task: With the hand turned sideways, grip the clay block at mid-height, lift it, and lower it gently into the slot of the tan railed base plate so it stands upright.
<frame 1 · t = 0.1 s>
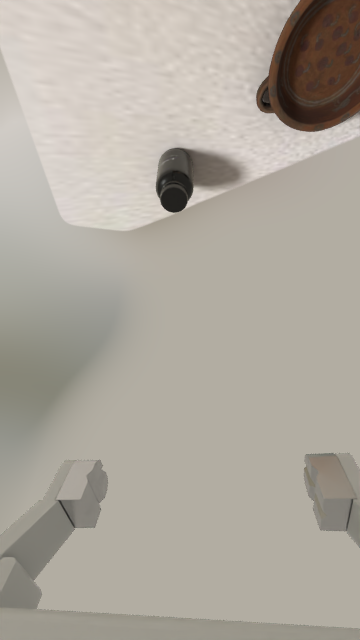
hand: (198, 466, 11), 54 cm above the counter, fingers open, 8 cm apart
supplement bottle: (175, 165, 54), on the counter
dish: (325, 50, 40), on the counter
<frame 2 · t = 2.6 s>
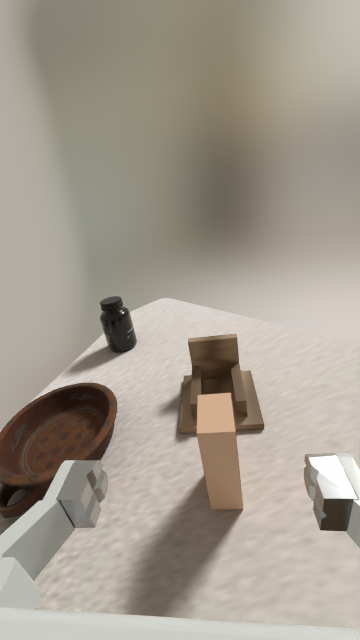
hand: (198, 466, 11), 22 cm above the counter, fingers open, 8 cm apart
tan railed base plate: (219, 401, 44), on the counter
supplement bottle: (123, 346, 66), on the counter
dish: (69, 446, 42), on the counter
clay block: (225, 486, 32), on the counter
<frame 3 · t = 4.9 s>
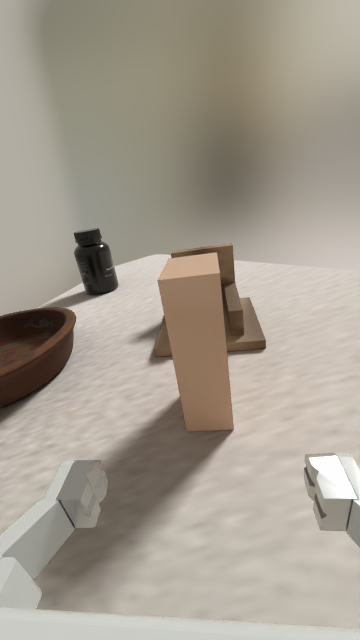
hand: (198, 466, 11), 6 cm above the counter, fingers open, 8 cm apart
tan railed base plate: (208, 326, 35), on the counter
supplement bottle: (103, 290, 57), on the counter
dish: (13, 375, 32), on the counter
clay block: (209, 406, 22), on the counter
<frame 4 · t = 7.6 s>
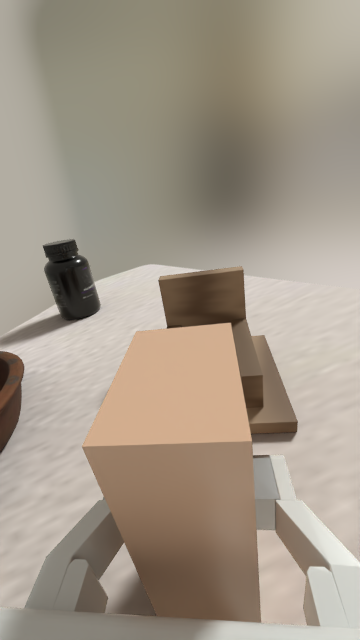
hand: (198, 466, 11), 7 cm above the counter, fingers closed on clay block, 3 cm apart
tan railed base plate: (210, 382, 25), on the counter
supplement bottle: (82, 313, 47), on the counter
clay block: (215, 574, 13), on the counter, touching gripper
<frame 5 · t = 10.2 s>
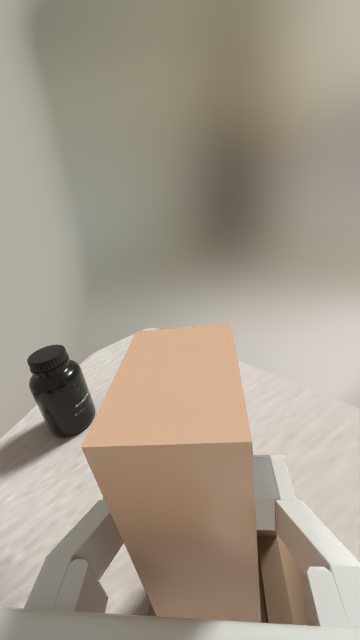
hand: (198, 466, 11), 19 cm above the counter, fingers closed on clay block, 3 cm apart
supplement bottle: (74, 421, 41), on the counter
clay block: (215, 574, 13), point 12 cm above the counter, touching gripper
when the fingers open (9 cm above the counter, at t = 13.0 s): clay block drops 1 cm, resting on tan railed base plate.
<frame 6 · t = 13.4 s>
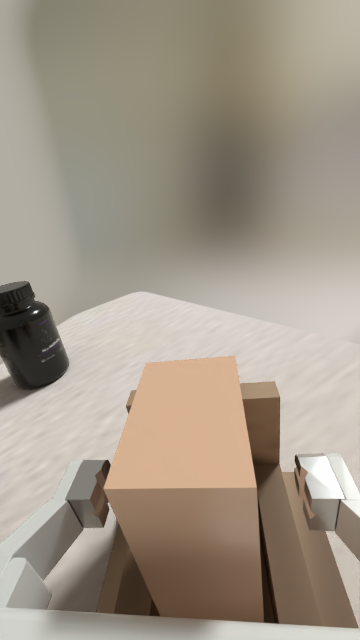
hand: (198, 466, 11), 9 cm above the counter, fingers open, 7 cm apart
tan railed base plate: (219, 597, 14), on the counter
supplement bottle: (44, 374, 36), on the counter
clay block: (220, 587, 13), point 1 cm above the counter, touching tan railed base plate
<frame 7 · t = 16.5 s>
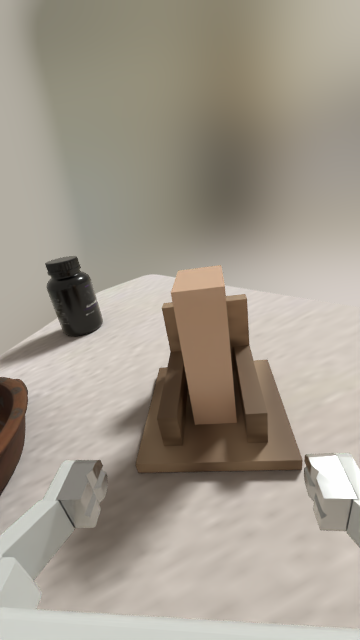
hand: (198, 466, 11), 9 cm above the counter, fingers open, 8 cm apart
tan railed base plate: (214, 410, 25), on the counter
supplement bottle: (84, 328, 47), on the counter
clay block: (214, 402, 25), point 1 cm above the counter, touching tan railed base plate
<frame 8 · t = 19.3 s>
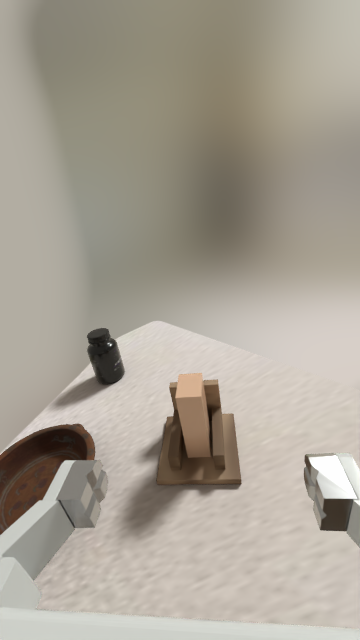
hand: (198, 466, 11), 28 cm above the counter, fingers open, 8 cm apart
tan railed base plate: (199, 447, 44), on the counter
supplement bottle: (111, 376, 66), on the counter
dish: (46, 494, 41), on the counter
clay block: (199, 443, 44), point 1 cm above the counter, touching tan railed base plate
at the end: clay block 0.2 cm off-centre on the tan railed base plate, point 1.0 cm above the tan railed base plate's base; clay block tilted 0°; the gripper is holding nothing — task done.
